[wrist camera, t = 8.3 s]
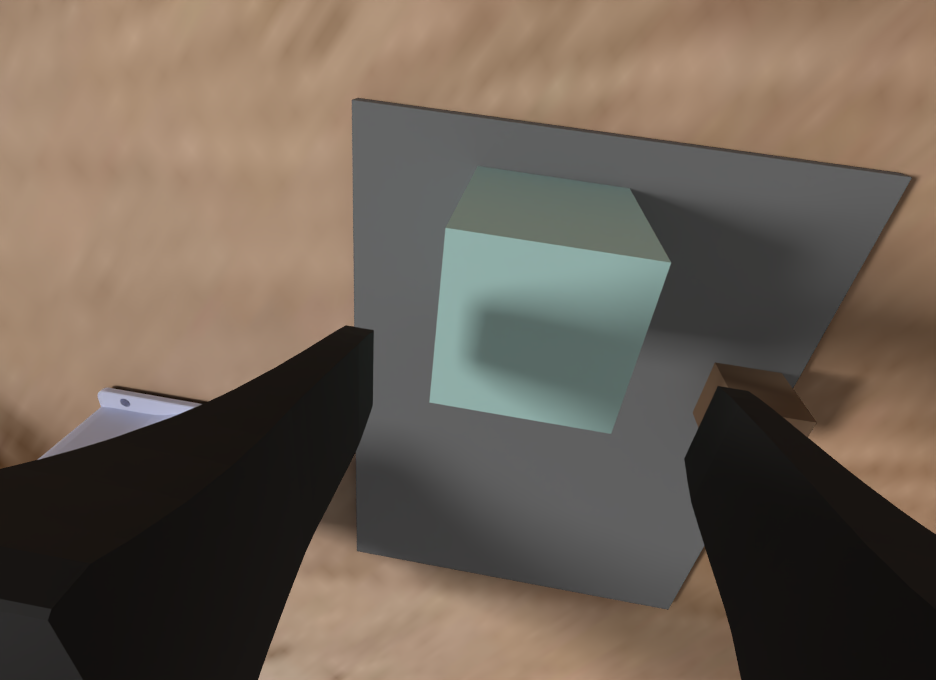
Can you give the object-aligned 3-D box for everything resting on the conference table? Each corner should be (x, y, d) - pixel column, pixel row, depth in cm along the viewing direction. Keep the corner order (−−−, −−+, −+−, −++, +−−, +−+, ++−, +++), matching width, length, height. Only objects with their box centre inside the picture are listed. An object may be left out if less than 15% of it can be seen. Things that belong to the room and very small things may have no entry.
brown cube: (692, 412, 21) (712, 463, 19) (714, 362, 20) (740, 409, 17) (754, 423, 21) (783, 475, 19) (781, 373, 20) (816, 422, 17)
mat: (360, 542, 30) (356, 551, 29) (357, 98, 17) (351, 99, 17) (666, 599, 29) (668, 609, 28) (900, 173, 16) (911, 177, 16)
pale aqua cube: (461, 300, 20) (429, 402, 14) (477, 166, 17) (445, 227, 12) (592, 321, 20) (611, 434, 14) (629, 188, 17) (671, 262, 11)
